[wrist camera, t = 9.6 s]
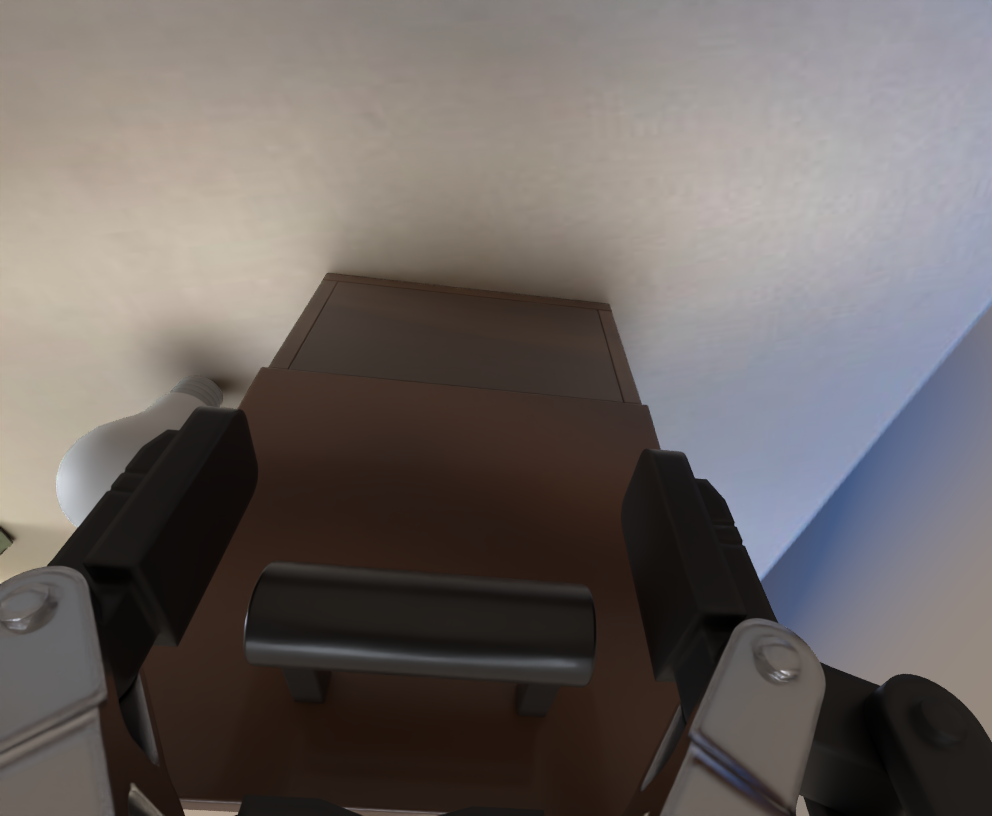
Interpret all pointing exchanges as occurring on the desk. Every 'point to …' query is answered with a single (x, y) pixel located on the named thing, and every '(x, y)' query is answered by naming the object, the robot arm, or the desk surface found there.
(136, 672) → the robot arm
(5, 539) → the medication box
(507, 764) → the lid
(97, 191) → the desk surface
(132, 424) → the lightbulb
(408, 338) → the chest
